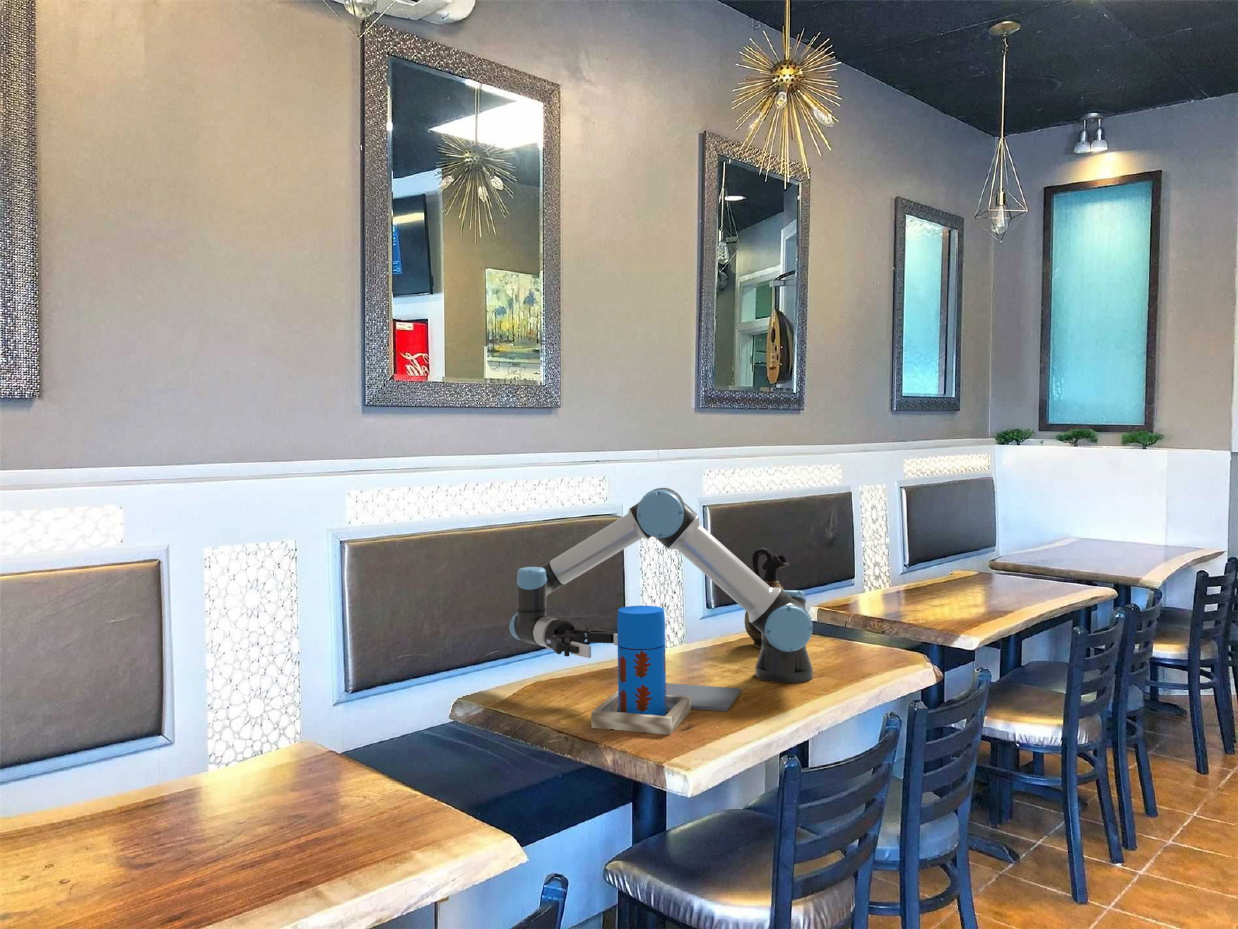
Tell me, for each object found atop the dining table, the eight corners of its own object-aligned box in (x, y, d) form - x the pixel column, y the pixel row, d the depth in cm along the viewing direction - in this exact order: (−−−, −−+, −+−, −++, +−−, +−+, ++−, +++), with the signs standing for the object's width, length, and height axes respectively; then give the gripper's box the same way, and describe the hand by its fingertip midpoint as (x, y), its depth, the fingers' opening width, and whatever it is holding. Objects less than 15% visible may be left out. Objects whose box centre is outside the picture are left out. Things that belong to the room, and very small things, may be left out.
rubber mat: (741, 691, 230) (741, 688, 230) (726, 711, 213) (726, 708, 213) (664, 686, 236) (664, 683, 236) (644, 705, 219) (644, 701, 219)
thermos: (666, 726, 202) (665, 613, 202) (618, 727, 203) (616, 614, 202) (665, 712, 213) (663, 605, 213) (619, 712, 214) (617, 605, 213)
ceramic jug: (805, 645, 281) (804, 548, 280) (777, 654, 270) (776, 553, 269) (759, 638, 292) (758, 544, 292) (730, 646, 281) (729, 549, 280)
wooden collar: (690, 711, 214) (690, 696, 214) (670, 734, 197) (670, 718, 197) (617, 705, 219) (617, 691, 219) (591, 727, 202) (591, 712, 202)
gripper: (593, 641, 239) (650, 655, 223) (515, 656, 222) (570, 672, 207) (592, 612, 239) (649, 624, 223) (514, 626, 222) (570, 639, 206)
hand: (612, 647), depth 215 cm, fingers open, 13 cm apart
